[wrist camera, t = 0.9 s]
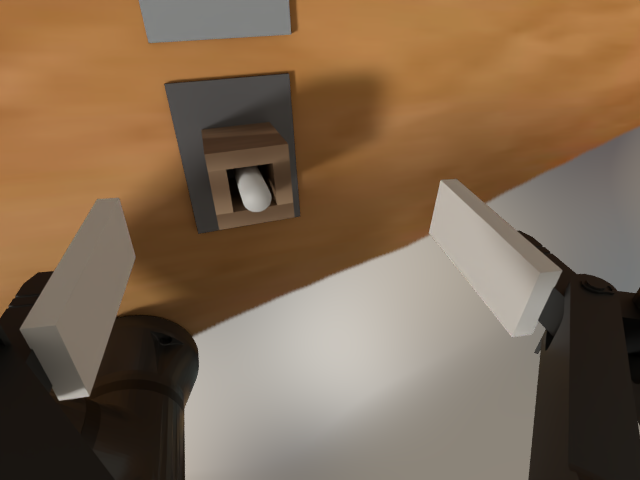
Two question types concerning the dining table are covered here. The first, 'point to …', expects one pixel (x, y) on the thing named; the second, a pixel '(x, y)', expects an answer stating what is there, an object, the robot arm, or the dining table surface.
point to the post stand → (224, 111)
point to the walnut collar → (242, 151)
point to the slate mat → (214, 19)
